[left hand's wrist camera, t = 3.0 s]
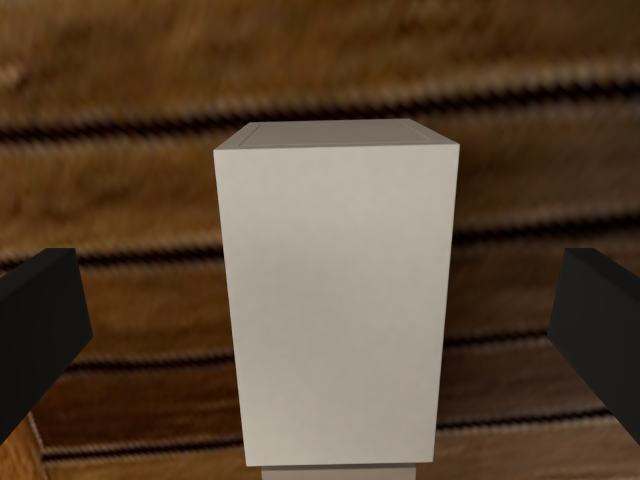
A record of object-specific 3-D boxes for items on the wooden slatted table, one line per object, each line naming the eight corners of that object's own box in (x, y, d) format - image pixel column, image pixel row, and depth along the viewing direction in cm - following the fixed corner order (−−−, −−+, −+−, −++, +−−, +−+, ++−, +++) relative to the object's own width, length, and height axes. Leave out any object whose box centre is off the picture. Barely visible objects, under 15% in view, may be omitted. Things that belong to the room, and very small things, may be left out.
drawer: (390, 441, 35) (411, 546, 28) (279, 444, 35) (268, 550, 28) (401, 183, 28) (433, 226, 20) (261, 186, 28) (239, 231, 20)
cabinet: (399, 350, 34) (433, 462, 24) (266, 353, 34) (246, 466, 24) (410, 118, 28) (460, 144, 18) (248, 122, 28) (212, 149, 18)
